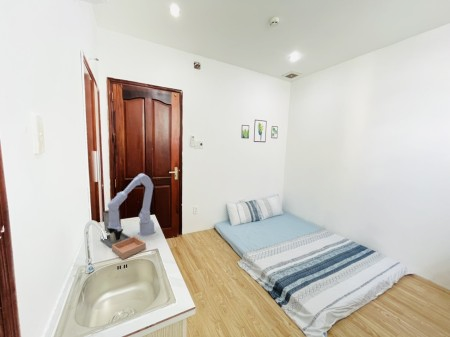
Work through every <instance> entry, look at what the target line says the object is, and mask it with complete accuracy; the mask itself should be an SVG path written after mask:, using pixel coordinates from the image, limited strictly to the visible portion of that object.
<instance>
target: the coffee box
mask: <svg viewBox="0 0 450 337" xmlns="http://www.w3.org/2000/svg"><path fill="white" fill-rule="evenodd" d="M118 211H119V224H120V227H121V228H122V221H121V219H122V218H121V210H120V208H118ZM102 216H103V226H104V232H105V231H106V233H107V234H110V232H109V230H108V229H107V227H108V226H109V225H108V223H109V209H108V210H104V211H102ZM115 230H116V229H115Z"/></svg>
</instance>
